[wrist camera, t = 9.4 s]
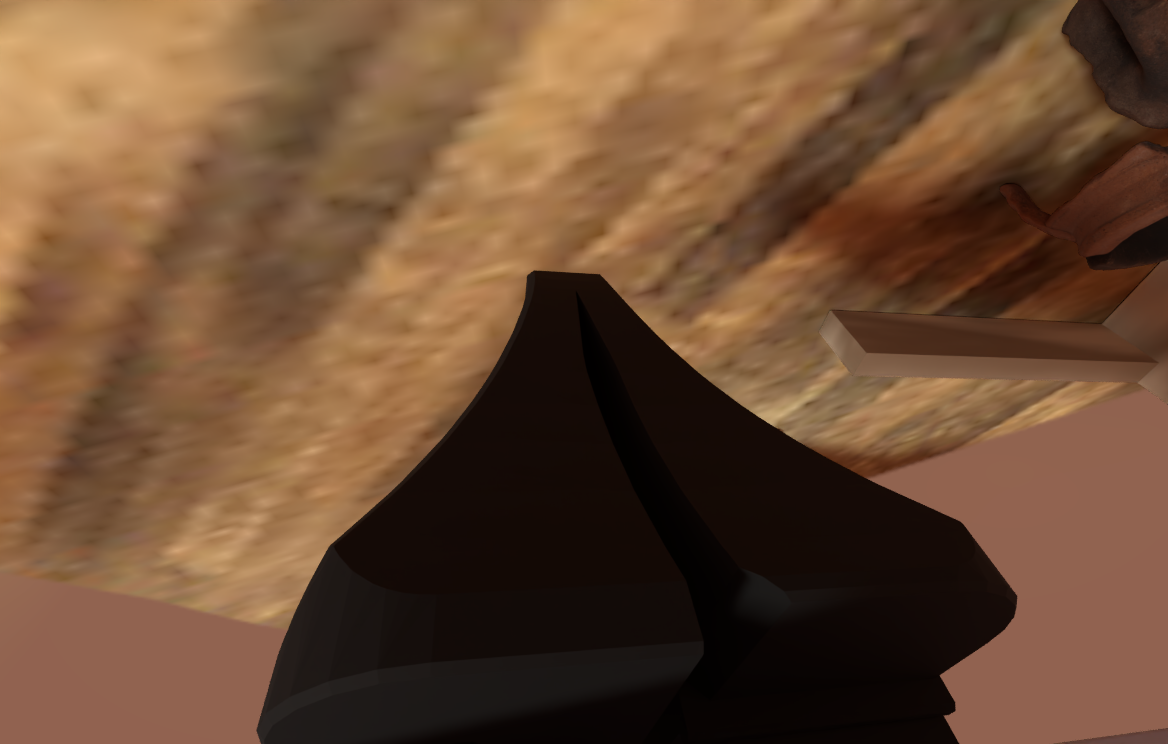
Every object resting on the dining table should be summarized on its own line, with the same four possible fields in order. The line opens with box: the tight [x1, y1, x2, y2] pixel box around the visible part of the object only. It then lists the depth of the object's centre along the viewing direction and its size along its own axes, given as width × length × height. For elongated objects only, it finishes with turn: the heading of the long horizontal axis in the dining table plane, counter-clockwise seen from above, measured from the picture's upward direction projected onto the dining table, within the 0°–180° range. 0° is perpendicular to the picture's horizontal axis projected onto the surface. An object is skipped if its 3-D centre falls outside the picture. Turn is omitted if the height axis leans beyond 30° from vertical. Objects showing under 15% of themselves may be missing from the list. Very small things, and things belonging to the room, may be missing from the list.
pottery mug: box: [1000, 0, 1168, 270], centre depth 16 cm, size 12×10×8 cm
